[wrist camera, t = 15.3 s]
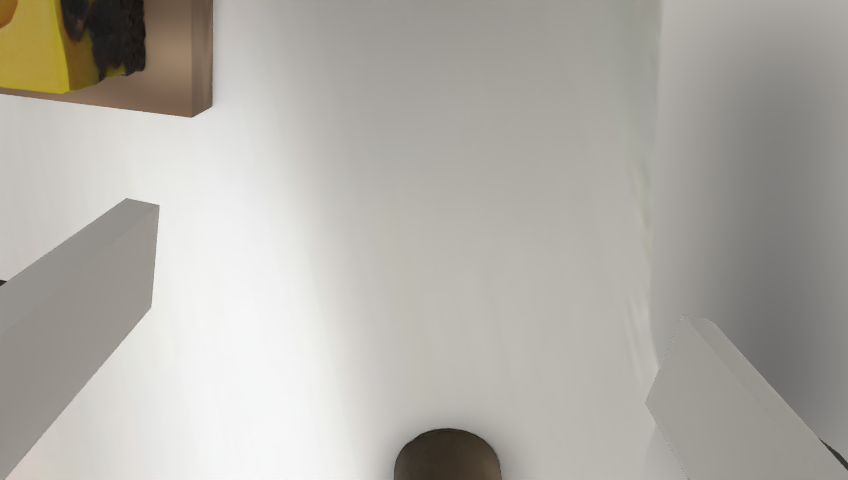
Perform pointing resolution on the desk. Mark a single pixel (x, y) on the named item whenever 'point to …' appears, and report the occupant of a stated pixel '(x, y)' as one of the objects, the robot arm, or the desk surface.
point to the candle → (69, 43)
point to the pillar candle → (447, 458)
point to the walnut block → (159, 65)
